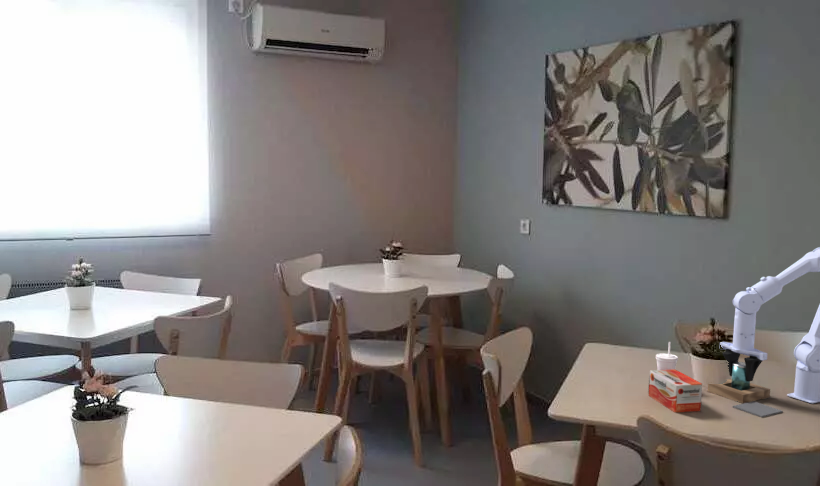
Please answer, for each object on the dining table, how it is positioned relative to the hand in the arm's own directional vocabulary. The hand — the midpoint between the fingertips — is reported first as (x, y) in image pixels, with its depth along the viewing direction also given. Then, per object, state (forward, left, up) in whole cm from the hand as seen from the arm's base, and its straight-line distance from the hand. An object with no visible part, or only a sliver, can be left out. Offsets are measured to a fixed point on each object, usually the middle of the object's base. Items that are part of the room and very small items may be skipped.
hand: (740, 378), depth 221 cm
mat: (+7, +11, -5) cm, 14 cm away
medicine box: (+24, -3, -5) cm, 25 cm away
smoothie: (+15, -15, -5) cm, 22 cm away
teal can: (0, 0, -3) cm, 3 cm away
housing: (0, -1, -5) cm, 5 cm away
